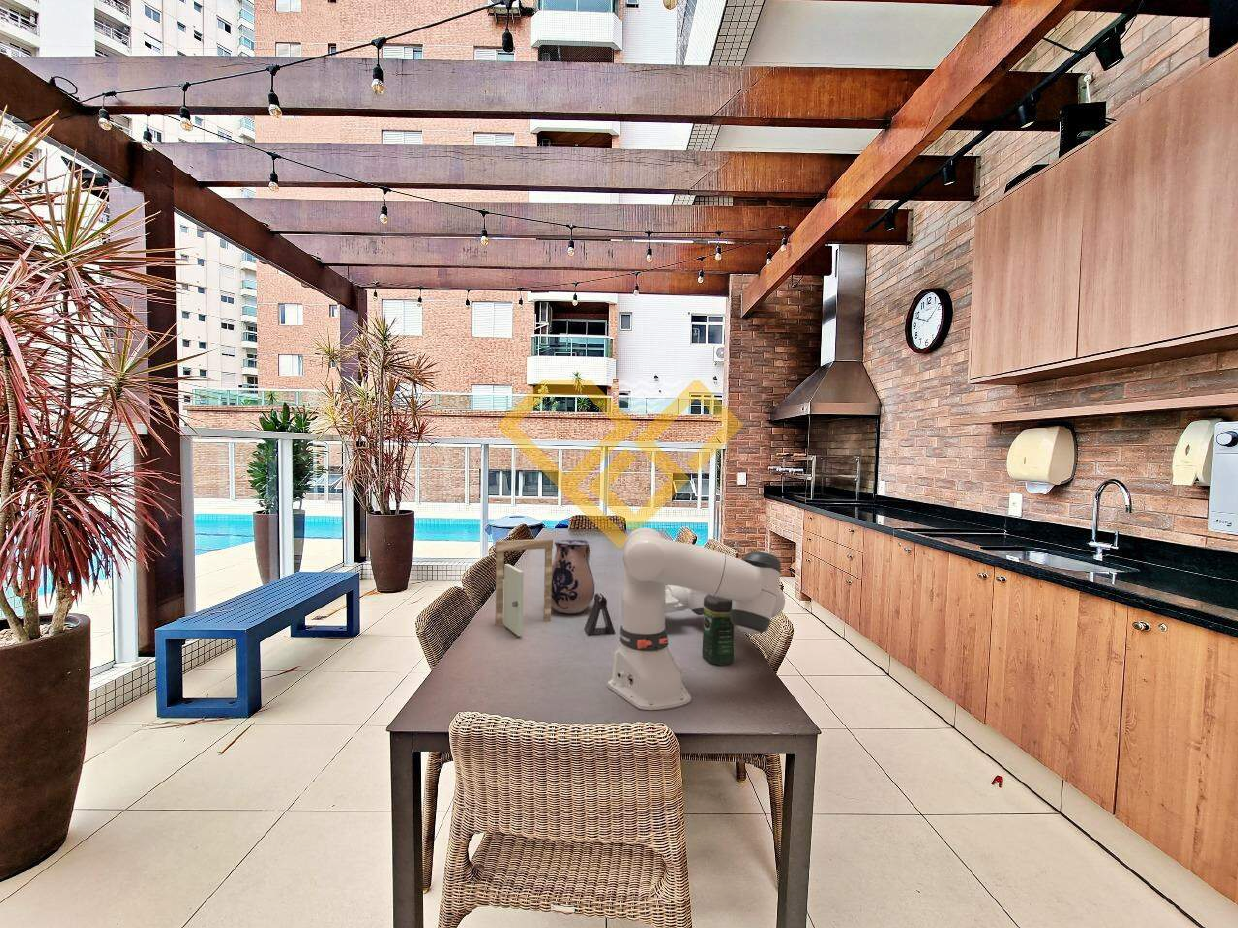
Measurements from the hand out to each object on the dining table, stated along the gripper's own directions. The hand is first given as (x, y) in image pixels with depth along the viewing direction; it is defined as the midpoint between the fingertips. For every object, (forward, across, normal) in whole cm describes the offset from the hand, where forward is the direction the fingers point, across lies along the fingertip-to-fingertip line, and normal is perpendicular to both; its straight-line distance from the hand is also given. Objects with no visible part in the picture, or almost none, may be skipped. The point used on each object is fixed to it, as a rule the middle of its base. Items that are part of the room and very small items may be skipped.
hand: (635, 601), depth 186 cm
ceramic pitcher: (+14, +27, -9) cm, 31 cm away
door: (+40, +8, -8) cm, 41 cm away
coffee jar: (-12, -33, -9) cm, 36 cm away
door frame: (+34, +16, -9) cm, 39 cm away
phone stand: (+12, 0, -9) cm, 16 cm away
